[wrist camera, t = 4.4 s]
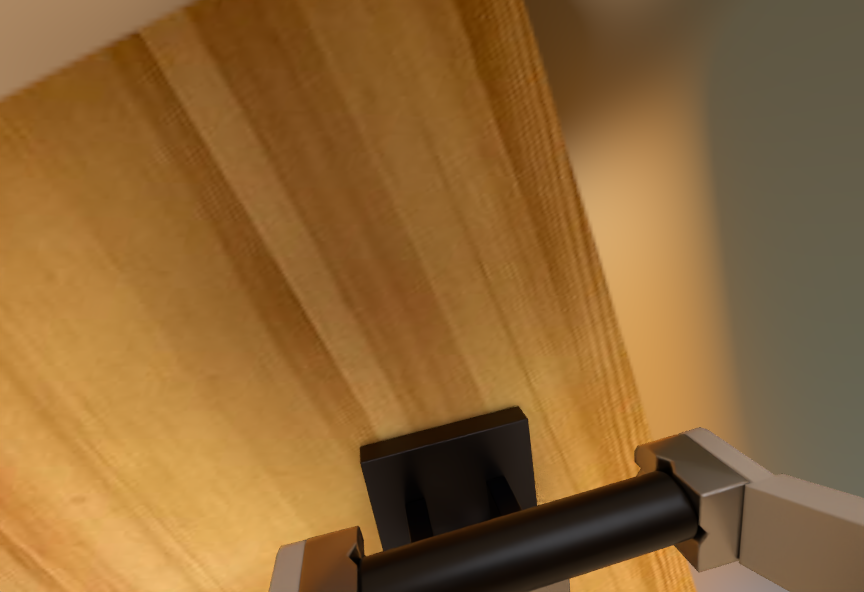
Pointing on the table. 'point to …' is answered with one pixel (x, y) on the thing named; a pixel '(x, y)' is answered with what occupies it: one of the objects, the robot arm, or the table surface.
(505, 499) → the bracket
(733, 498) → the robot arm
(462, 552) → the lever
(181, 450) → the table surface
